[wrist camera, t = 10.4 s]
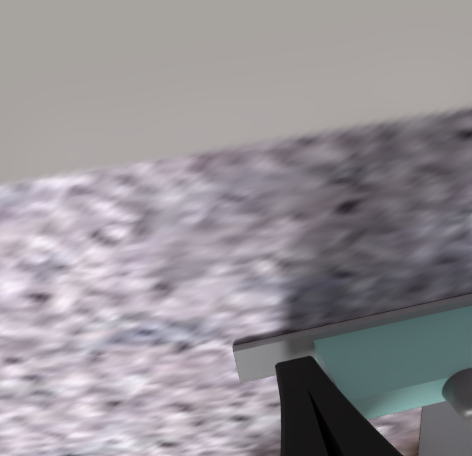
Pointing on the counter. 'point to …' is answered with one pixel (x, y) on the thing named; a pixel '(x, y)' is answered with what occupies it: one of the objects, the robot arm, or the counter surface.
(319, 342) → the teal long flat bar
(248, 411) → the counter surface
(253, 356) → the housing
